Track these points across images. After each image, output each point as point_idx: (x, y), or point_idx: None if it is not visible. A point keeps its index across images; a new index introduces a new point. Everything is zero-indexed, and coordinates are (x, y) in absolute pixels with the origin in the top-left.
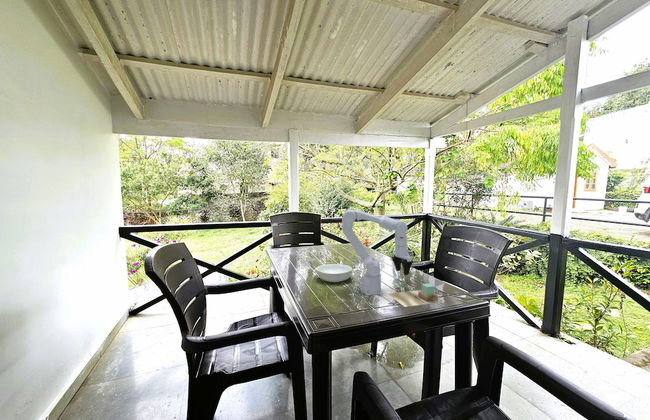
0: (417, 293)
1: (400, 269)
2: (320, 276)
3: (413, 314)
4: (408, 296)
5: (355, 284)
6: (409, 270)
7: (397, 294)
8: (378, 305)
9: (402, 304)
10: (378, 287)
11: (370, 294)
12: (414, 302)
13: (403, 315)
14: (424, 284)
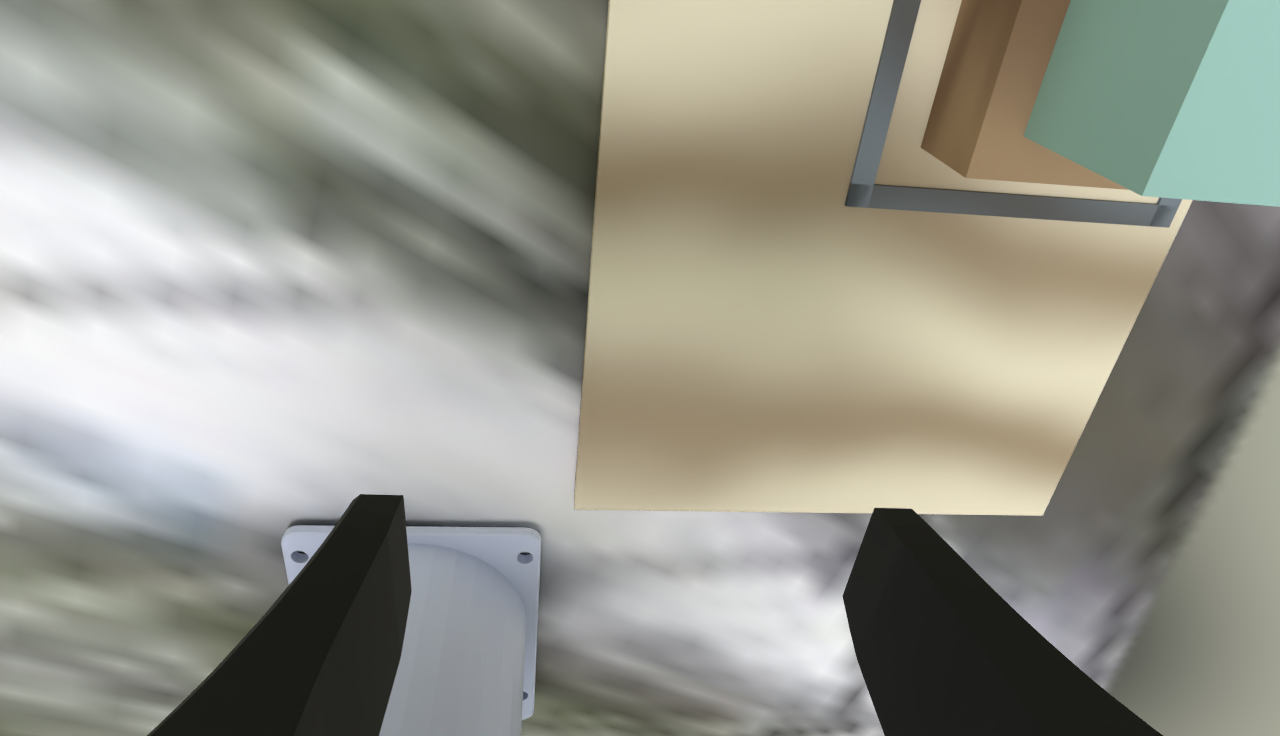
0: (778, 34)
1: (397, 521)
2: None
3: (1201, 505)
4: (808, 287)
5: (25, 694)
6: (1006, 606)
7: (657, 396)
8: (816, 687)
9: (976, 506)
10: (518, 674)
11: (527, 684)
12: (1032, 342)
13: (1141, 592)
14: (1209, 141)
